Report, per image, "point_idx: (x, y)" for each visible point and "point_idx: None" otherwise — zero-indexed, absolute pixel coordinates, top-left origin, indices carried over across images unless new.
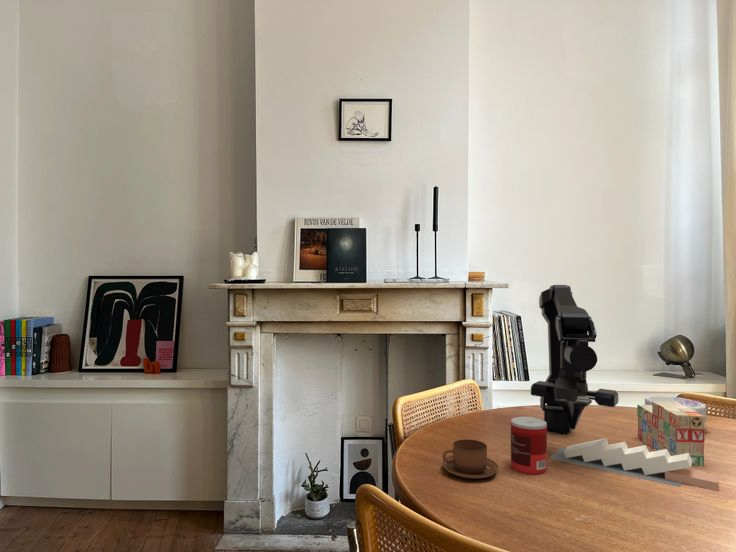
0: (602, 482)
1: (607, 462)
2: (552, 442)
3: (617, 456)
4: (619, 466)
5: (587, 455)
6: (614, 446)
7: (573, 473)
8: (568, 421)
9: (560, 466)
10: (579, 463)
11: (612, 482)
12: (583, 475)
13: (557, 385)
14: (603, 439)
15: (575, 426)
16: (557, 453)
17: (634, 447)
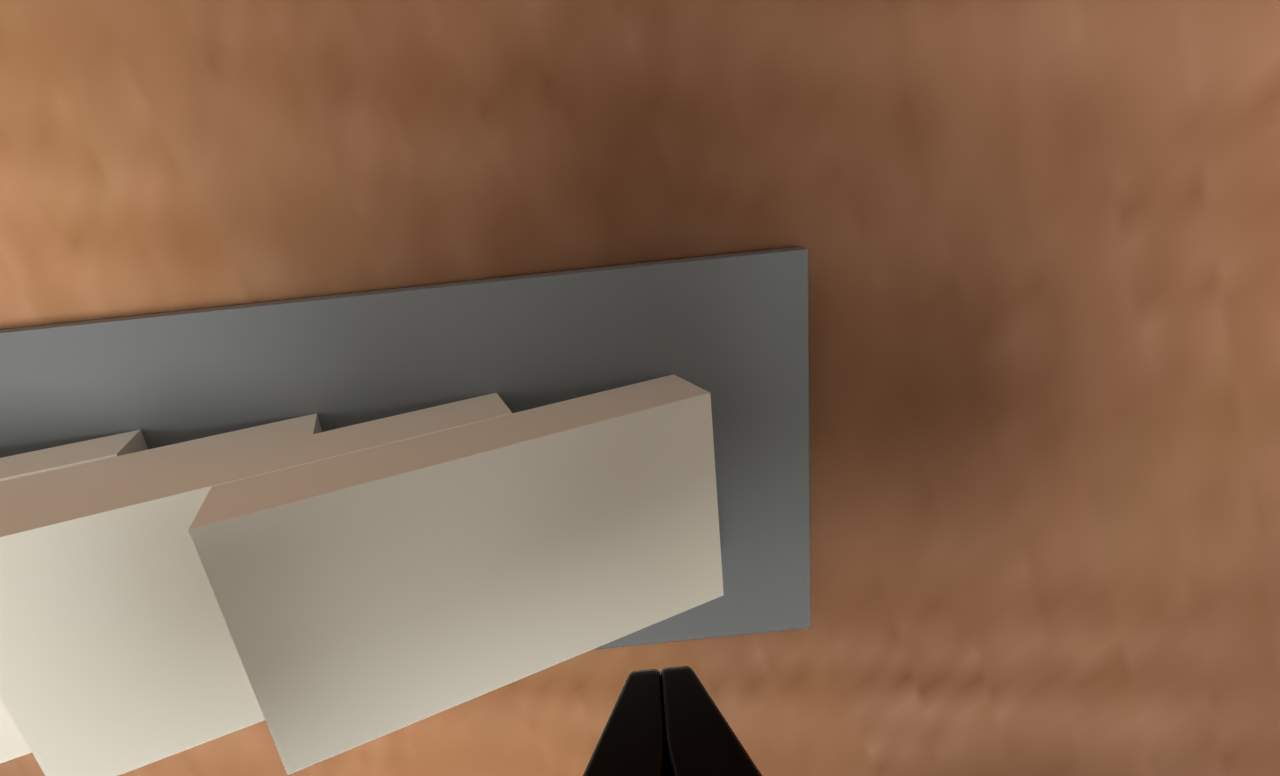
0: (153, 12)
1: (263, 433)
2: (917, 712)
3: (97, 482)
4: None
5: (450, 423)
6: (136, 630)
7: (479, 55)
8: (748, 766)
9: (659, 167)
10: (517, 320)
11: (94, 96)
12: (381, 75)
13: None
14: (293, 719)
15: (615, 729)
16: (787, 443)
17: (3, 754)
